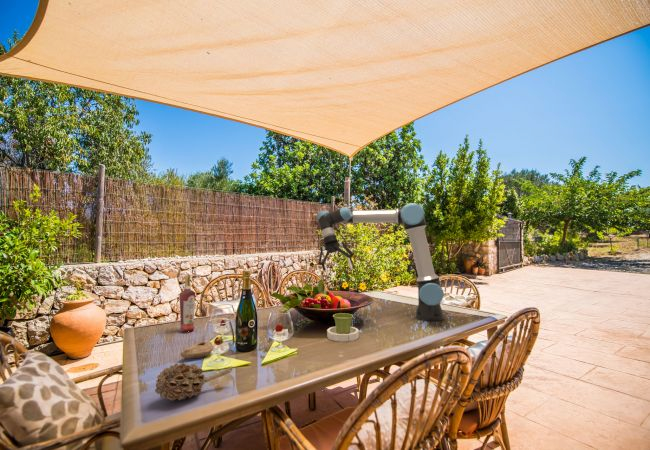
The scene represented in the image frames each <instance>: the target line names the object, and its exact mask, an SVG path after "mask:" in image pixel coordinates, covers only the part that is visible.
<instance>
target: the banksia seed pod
mask: <svg viewBox="0 0 650 450" xmlns="http://www.w3.org/2000/svg"><path fill="white" fill-rule="evenodd" d="M233 368H234V369H235V367H233V366H232V365H231V366H228V367H227V368H226V369H223V370H222V371H220V372H217V373H215V374H213V375H209V376H205V374H203V369H202V367H200V366H198V365H197V364H196V363H192V364H188V363H185V362H180V363H179V364H178V363H175V364H174V365H170V366H169V367H165V368H163V369H162V370H161V371H160V372H159V374H157V376H156V378H157V379H156V380H155V387H156V388H155V389H154V391H155V393H156V394H157V395H159V397H160V398H164V399H168V400H170V401H172V402H173V401H176V400H178V401H181V400H185V399H186V398H187V397H188V398H190V399H191V398H192V397H193V396H198V394H199V393H201V391H202V389H203V386H204V385H205V383H208V382H211V381H214V380H216V379H218V378H221V377H223V376H225V375H227V374H230V373H233V371H232V370H233Z"/></svg>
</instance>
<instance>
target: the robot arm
mask: <svg viewBox="0 0 650 450" xmlns="http://www.w3.org/2000/svg"><path fill="white" fill-rule="evenodd" d="M316 219H317V223H318V226H319V230H320V233H321V237H322V240H323V243H324V246H320V249H319V250H320V251H319V252H320V253H319V257H318V263H317V264H318V266H321V267H322V270H323V272H325V275H326V277H329V275H330V274H329V271H328V268H327V265H326V261H327V259H328V257H329V256H330V254H333V253H337V252H338V253H340V254H341V255H343V256H345V257H347V261H348V265H349V269H350V271H353V269H354V268H353V259H352V257H354V253H353V251H351V249H350V248H348V246H347V245H346V243H345V241H341V242H339V241H338V238H337V236H336V231H335V229H334V226H335V225H339V224H341V223H342V224H358V223H359V224H362V223H363V224H364V223H365V224H367V223H368V224H369V223H370V224H371V223H373V224H374V223H377V224H378V223H382V224H383V223H385V224H387V223H388V224H389V223H395V224H397V225H403V230H404V231H405V232H407V235H408V239H409V242H410V247H411V251H412V255H413V259H414V260H413V261H414V264H415V268H416V272H417V273H416V274H417V279H416V285H417V290H418V291H417V293H418V294H417V297H418V304H417V307H416V311H415V318H416V319H418V320H421V321H426V322H427V321H428V322H439V321H443V320H444V317H445V316H444V315H445V314H444V313H443V310H442V306H441V302H442V300H443V299H444V289H443V288H442V286H441V285H442V284H441V281H440V277H439V275H437V274H436V272H435V269H434V265H433V261H432V256H431V255H432V254H431V253H430V252H431V251H430V246H429V244H428V239H427V234H426V231H425V230H426V227H427V222H426V218H425V210H424V208H423V207H422V206H421V205H420V204H419V203H415V202H411V203H407V204H405V205H404V206H403V207H397V208H396V209H371V210H370V209H366V210H363V209H362V210H359V209H358V210H351V209H350V208H349V206H344V207H340V208H339V209H336V210H333V211H331V212H329V211H328V210H326V209H325V210H321V211H319V212H317V214H316ZM340 246H341V247H342V248H343V249H344V250H343V249H342V248H340ZM325 250H326V253H325V256H324V257H323V253H324V252H325ZM322 258H323V260H322Z"/></svg>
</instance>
